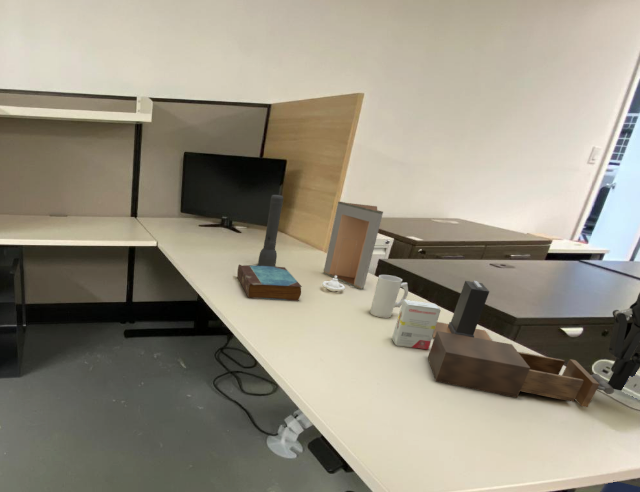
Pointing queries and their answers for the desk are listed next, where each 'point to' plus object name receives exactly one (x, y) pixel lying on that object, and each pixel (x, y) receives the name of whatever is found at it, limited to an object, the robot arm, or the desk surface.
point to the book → (268, 282)
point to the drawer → (561, 380)
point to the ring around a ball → (333, 285)
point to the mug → (387, 295)
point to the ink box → (416, 324)
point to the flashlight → (271, 233)
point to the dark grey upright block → (468, 309)
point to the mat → (444, 328)
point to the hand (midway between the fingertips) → (614, 386)
